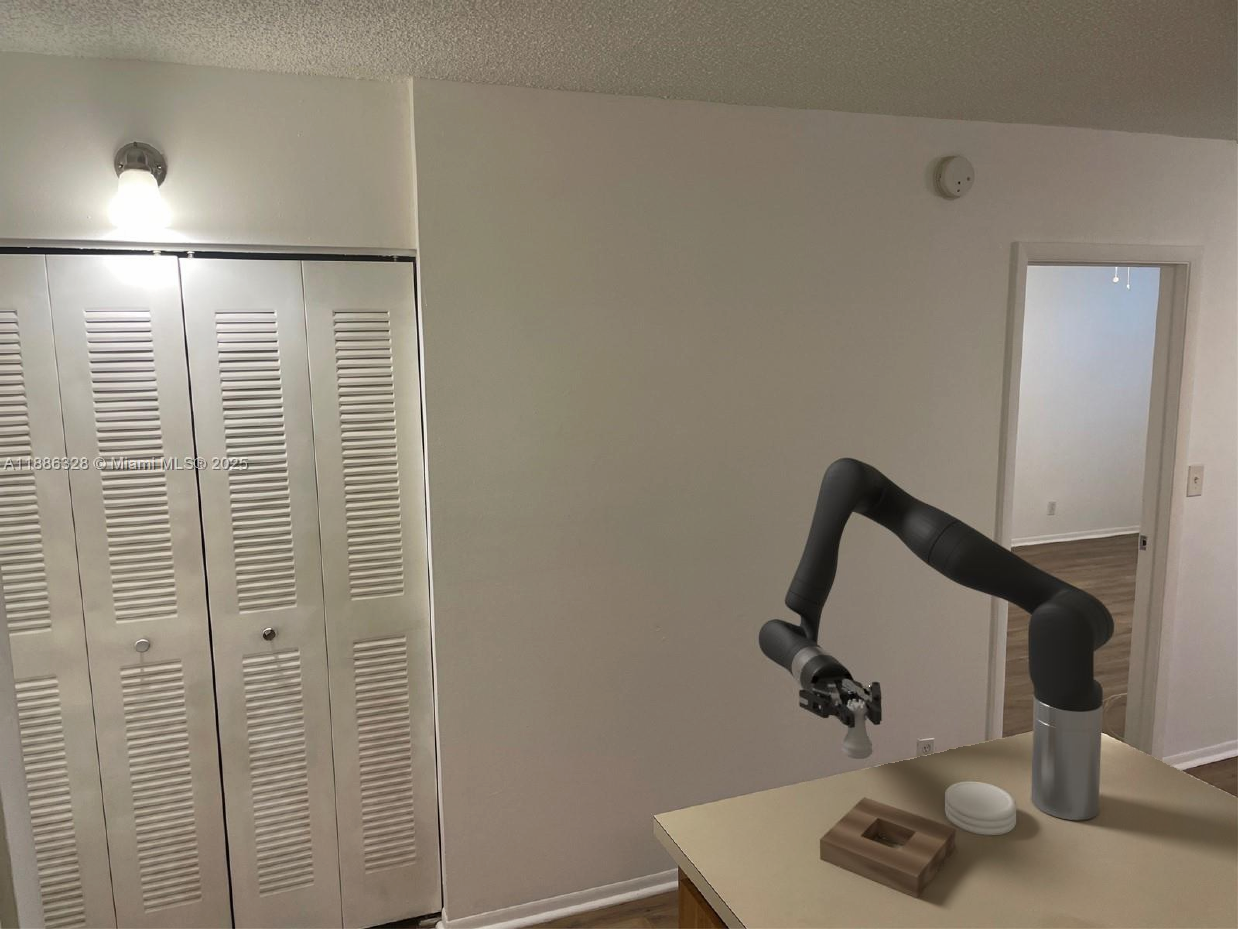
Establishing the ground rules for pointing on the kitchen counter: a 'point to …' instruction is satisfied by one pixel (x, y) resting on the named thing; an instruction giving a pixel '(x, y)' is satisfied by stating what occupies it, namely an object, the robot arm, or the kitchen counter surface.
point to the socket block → (883, 864)
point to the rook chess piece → (857, 733)
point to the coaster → (980, 808)
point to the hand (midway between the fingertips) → (865, 720)
